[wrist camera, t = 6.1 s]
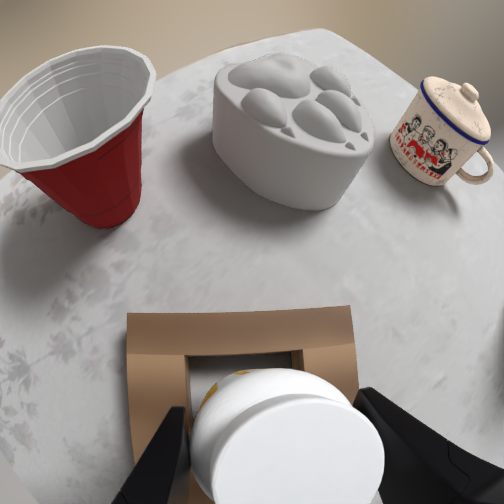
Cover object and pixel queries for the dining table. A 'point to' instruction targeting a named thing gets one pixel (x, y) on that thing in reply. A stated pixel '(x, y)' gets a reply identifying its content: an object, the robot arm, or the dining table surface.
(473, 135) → the teacup with lid
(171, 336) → the bottle holder
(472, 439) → the dining table surface
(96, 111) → the plastic cup
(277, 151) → the lumpy-topped squat cylinder
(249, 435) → the supplement bottle
